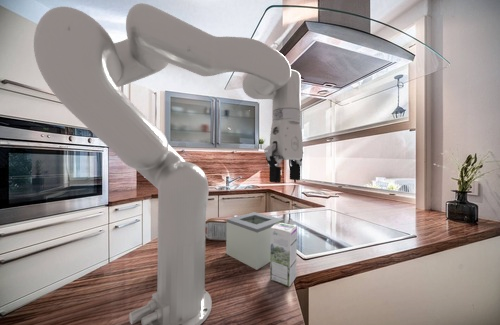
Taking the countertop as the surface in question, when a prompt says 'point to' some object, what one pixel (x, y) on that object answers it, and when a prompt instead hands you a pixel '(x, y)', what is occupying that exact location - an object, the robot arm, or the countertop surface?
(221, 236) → the tin
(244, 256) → the post box
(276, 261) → the syrup box
